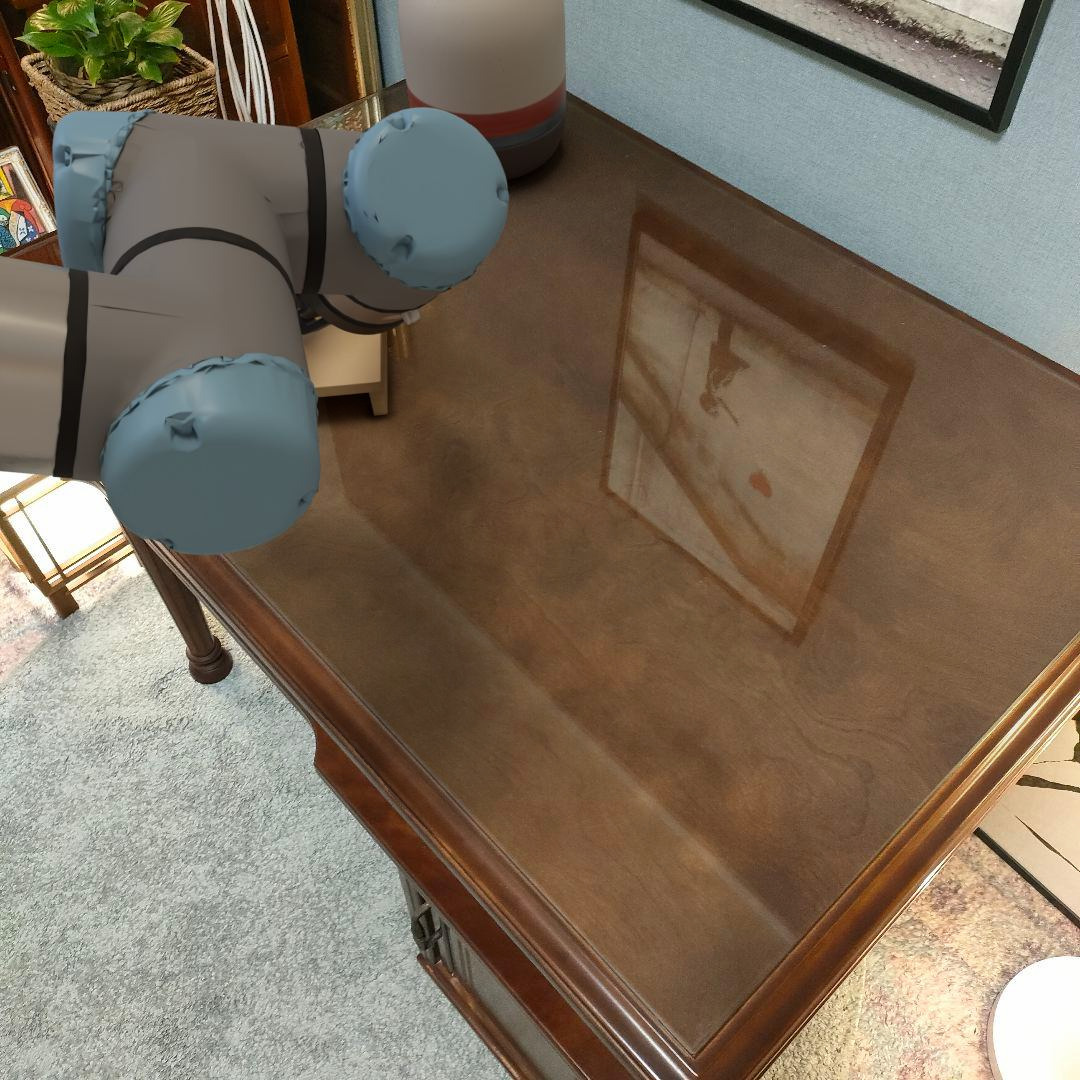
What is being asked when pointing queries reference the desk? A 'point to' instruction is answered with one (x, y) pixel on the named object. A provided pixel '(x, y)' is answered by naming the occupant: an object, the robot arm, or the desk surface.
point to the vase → (491, 71)
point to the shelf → (348, 364)
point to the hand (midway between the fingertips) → (321, 319)
